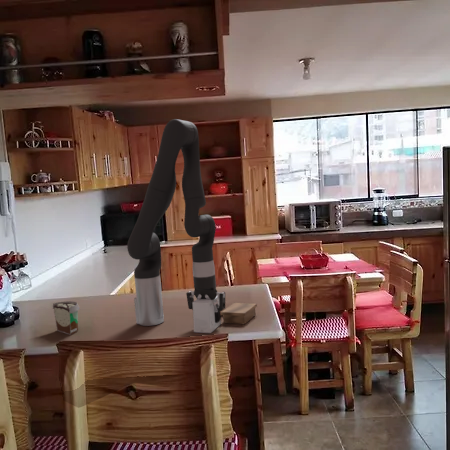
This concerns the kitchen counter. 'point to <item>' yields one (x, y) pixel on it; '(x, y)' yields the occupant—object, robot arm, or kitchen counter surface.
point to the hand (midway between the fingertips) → (207, 321)
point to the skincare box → (204, 315)
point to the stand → (239, 313)
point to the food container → (66, 316)
